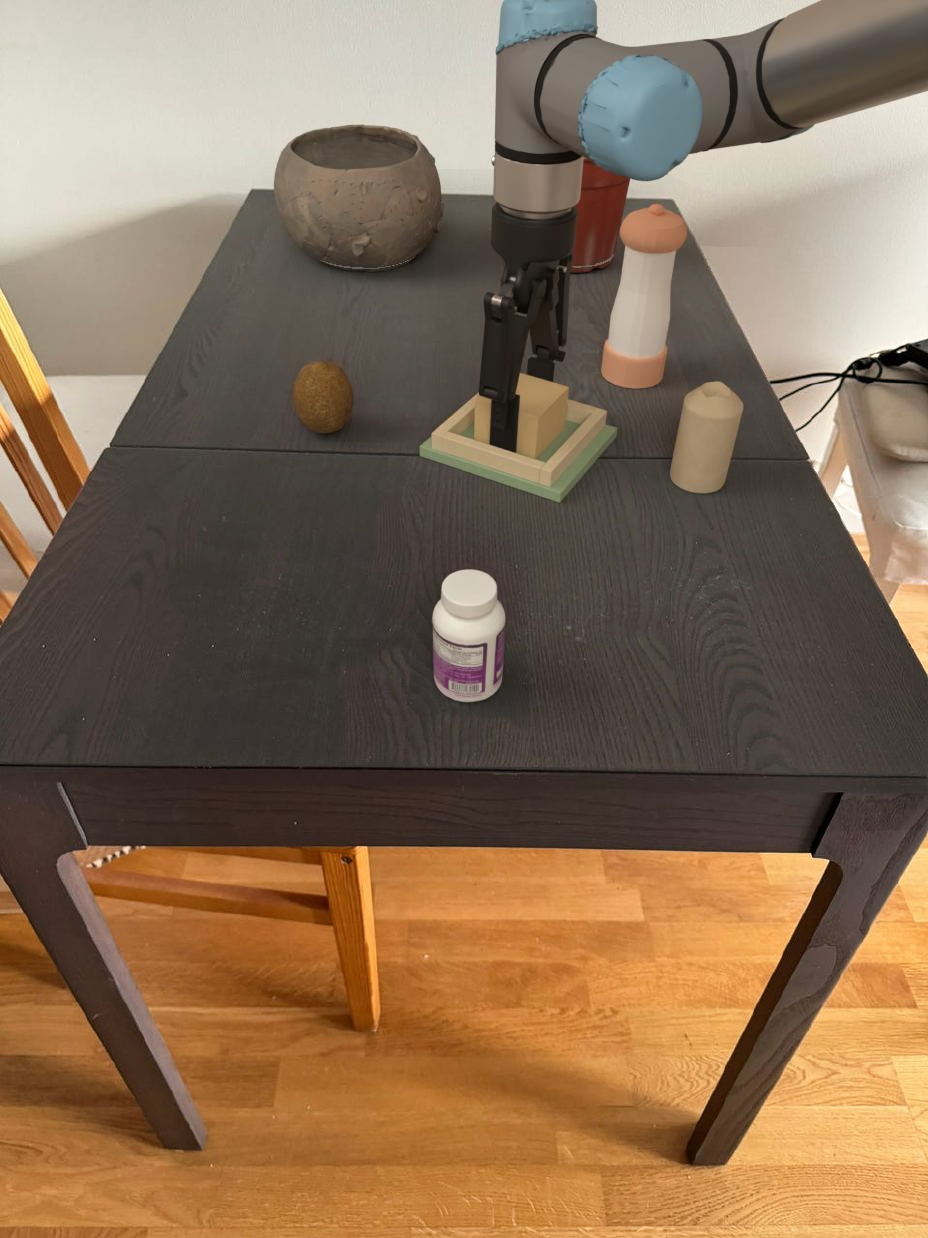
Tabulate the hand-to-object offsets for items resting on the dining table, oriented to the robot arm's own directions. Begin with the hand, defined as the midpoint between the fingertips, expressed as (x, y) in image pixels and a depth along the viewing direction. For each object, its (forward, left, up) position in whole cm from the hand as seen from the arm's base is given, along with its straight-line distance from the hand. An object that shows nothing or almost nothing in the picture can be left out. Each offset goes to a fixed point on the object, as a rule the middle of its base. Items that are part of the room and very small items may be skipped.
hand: (520, 433), depth 96 cm
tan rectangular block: (0, 0, 0) cm, 0 cm away
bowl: (+43, -34, -2) cm, 55 cm away
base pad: (0, 0, -2) cm, 2 cm away
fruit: (+19, +8, -2) cm, 21 cm away
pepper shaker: (-4, -21, -2) cm, 21 cm away
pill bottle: (-12, +32, -2) cm, 34 cm away
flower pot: (+17, -49, -2) cm, 52 cm away
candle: (-18, -4, -2) cm, 19 cm away
